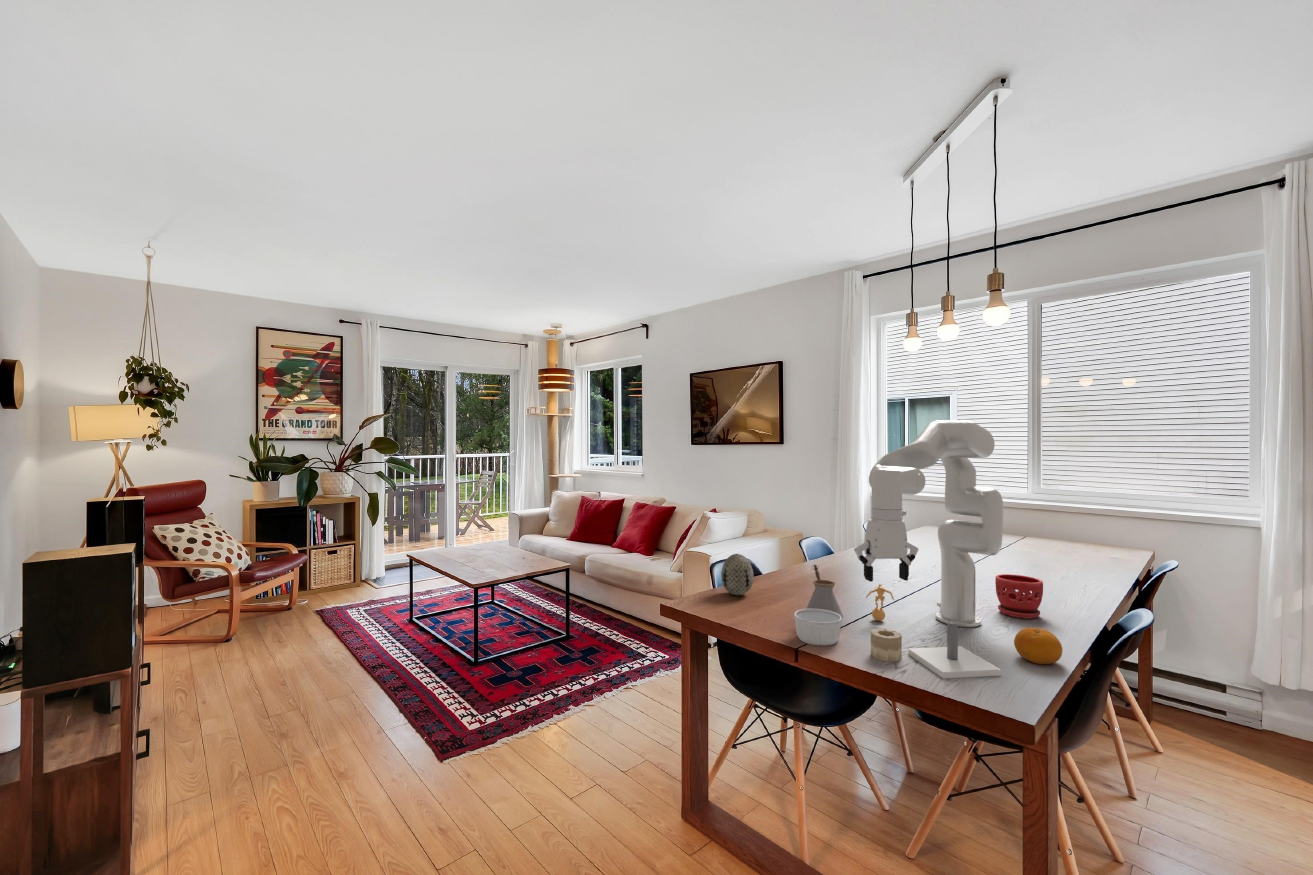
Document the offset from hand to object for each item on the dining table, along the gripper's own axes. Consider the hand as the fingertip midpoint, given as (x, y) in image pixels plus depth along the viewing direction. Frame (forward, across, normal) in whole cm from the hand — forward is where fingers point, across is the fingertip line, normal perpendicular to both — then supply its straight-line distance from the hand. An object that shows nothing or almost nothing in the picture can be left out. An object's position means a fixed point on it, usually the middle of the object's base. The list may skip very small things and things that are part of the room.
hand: (886, 579), depth 148 cm
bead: (+20, 0, 0) cm, 20 cm away
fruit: (+20, -38, +7) cm, 43 cm away
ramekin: (+20, +13, -14) cm, 28 cm away
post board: (+20, -14, +7) cm, 26 cm away
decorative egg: (+20, +24, -60) cm, 68 cm away
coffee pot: (+20, +5, -31) cm, 38 cm away
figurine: (+20, -12, -26) cm, 35 cm away
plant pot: (+20, -61, -28) cm, 70 cm away
